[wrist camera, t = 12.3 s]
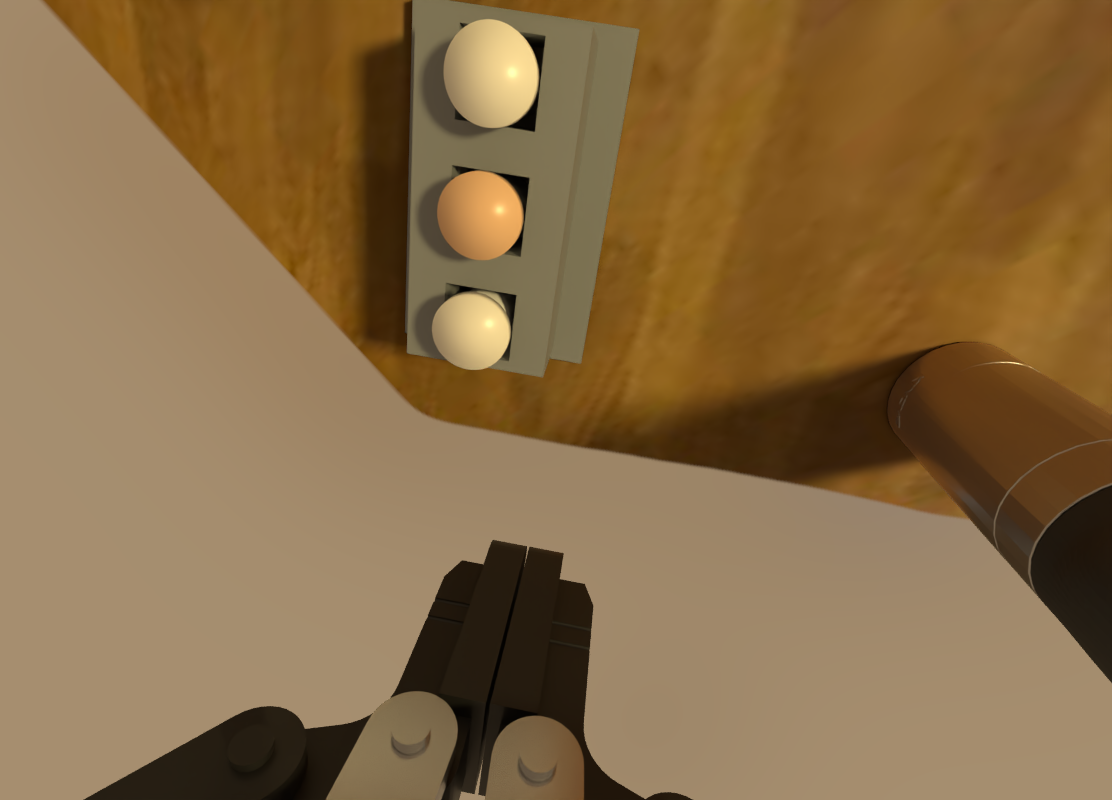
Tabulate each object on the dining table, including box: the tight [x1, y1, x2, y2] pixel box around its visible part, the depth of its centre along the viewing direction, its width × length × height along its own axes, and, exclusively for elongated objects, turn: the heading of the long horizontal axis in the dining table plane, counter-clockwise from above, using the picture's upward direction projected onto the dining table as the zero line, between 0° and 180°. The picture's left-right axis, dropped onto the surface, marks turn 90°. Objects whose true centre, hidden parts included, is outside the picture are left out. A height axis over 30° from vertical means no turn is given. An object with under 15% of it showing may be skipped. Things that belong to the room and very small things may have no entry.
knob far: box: [432, 288, 516, 370], centre depth 38 cm, size 5×5×8 cm
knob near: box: [444, 19, 542, 128], centre depth 32 cm, size 5×5×8 cm
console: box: [405, 0, 639, 377], centre depth 37 cm, size 14×22×7 cm, turn 172°
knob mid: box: [437, 170, 528, 260], centre depth 35 cm, size 5×5×8 cm
